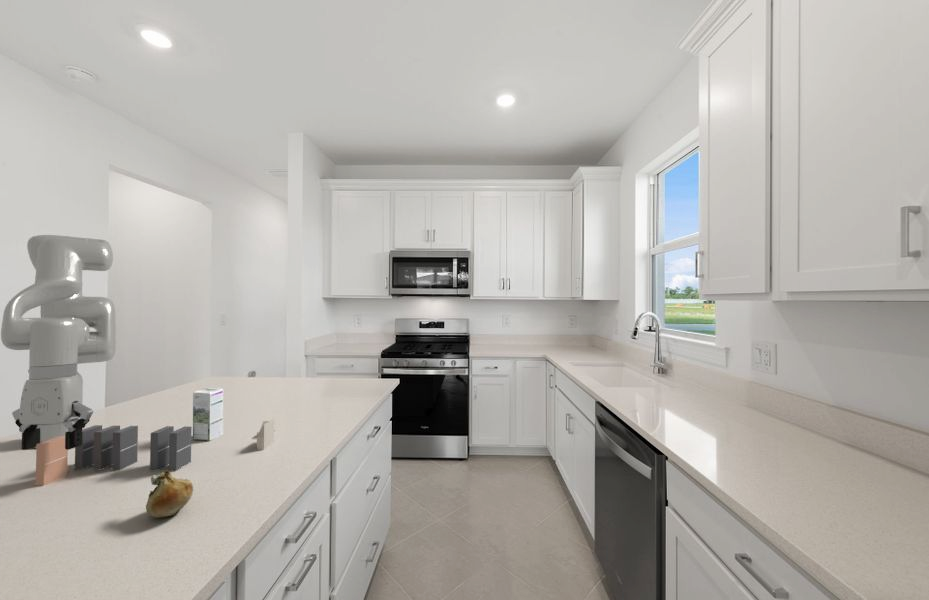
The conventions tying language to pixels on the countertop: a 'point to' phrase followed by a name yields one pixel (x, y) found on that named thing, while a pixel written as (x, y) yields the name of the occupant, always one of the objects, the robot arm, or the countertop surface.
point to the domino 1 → (51, 461)
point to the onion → (168, 495)
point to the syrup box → (207, 414)
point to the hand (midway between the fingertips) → (52, 447)
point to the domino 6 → (179, 448)
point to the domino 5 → (160, 448)
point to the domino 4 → (125, 447)
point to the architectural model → (265, 435)
